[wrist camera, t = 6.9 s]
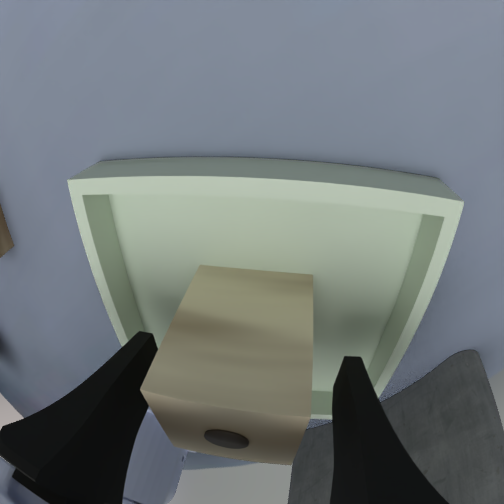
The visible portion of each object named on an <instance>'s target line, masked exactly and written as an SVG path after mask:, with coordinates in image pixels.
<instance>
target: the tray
mask: <svg viewBox="0 0 504 504" xmlns="http://www.w3.org/2000/svg"><path fill="white" fill-rule="evenodd" d="M67 181H68V186H69V191H70V195H71V199H72V204H73V208H74V212H75V216H76V219H77V223H78V227H79V230H80V234H81V237H82V241H83V244H84V247H85V251H86V254H87V257H88V260H89V263H90V266H91V269H92V272H93V275H94V278H95V281H96V284H97V287H98V289H99V292H100V295H101V297H102V300H103V303H104V305H105V308H106V310H107V313H108V315H109V318H110V320H111V323H112V325H113V327H114V330H115V332H116V334H117V337H118V339H119V341H120V343H121V346H122V347H123V346H124V345H125V344H126V343H127V342H128V341H129V340H130V339H131V338H132V337H133V336H134V335H135V334H136V333H137V332H139V331H143V332H148V333H153V335H154V338H155V341H156V344H157V347H158V349H159V347H160V345H161V343H162V340H163V338H164V336H165V334H166V332H167V330H168V328H169V326H170V324H171V322H172V320H173V318H174V316H175V313H176V311H177V309H178V307H179V305H180V303H181V301H182V299H183V297H184V295H185V293H186V291H187V289H188V287H189V285H190V283H191V281H192V279H193V277H194V275H195V273H196V271H197V269H198V267H199V265H208V266H218V267H229V268H240V269H251V270H263V271H275V272H287V273H299V274H311V275H313V371H312V399H311V417H310V419H332V397H333V385H334V382H335V380H336V377H337V374H338V372H339V369H340V366H341V364H342V361H343V358H344V356H359V357H361V358H362V359H363V362H364V365H365V368H366V370H367V373H368V375H369V378H370V380H371V383H372V385H373V387H374V390H375V392H376V394H377V397H378V398H379V397H380V395H381V393H382V392H383V390H384V389H385V387H386V385H387V384H388V382H389V380H390V379H391V377H392V375H393V373H394V372H395V370H396V368H397V366H398V365H399V363H400V361H401V359H402V357H403V355H404V354H405V352H406V350H407V348H408V346H409V344H410V342H411V340H412V338H413V336H414V334H415V332H416V330H417V328H418V326H419V324H420V322H421V320H422V318H423V315H424V313H425V311H426V309H427V307H428V304H429V302H430V300H431V297H432V295H433V293H434V290H435V288H436V285H437V283H438V280H439V278H440V275H441V273H442V270H443V267H444V265H445V262H446V259H447V256H448V254H449V251H450V248H451V245H452V242H453V239H454V236H455V233H456V229H457V226H458V223H459V219H460V216H461V212H462V209H463V205H464V201H463V200H462V199H461V198H460V197H459V196H458V195H456V194H455V193H454V192H453V191H452V190H451V189H450V188H449V187H448V186H446V185H445V184H444V183H443V182H442V181H441V180H440V179H438V178H434V177H429V176H423V175H417V174H411V173H405V172H399V171H392V170H385V169H378V168H370V167H362V166H354V165H345V164H336V163H325V162H314V161H301V160H286V159H268V158H241V157H169V158H143V159H125V160H111V161H100V162H98V163H96V164H94V165H92V166H91V167H89V168H87V169H85V170H83V171H82V172H80V173H78V174H76V175H75V176H73V177H71V178H70V179H68V180H67Z"/></svg>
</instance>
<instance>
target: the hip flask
mask: <svg viewBox="0 0 504 504" xmlns="http://www.w3.org/2000/svg"><path fill="white" fill-rule="evenodd" d="M380 403H381V405H382V407H383V409H384V412H385V414H386V416H387V418H388V420H389V421H390V423H391V425H392V427H393V429H394V431H395V433H396V434H397V436H398V438H399V440H400V441H401V443H402V444H403V446H404V448H405V449H406V451H407V452H408V454H409V455H410V457H411V458H412V460H413V461H414V463H415V464H416V465H417V467H418V468H419V469H420V471H421V472H422V473H423V475H424V476H425V477H426V478H427V480H428V481H429V482H430V483H431V484H432V486H433V487H434V488H435V489H436V490H437V491H438V492H439V494H440V495H441V496H442V497H443V498H444V499H445V500H446V501H447V502H448V503H449V504H504V431H503V427H502V423H501V419H500V416H499V412H498V409H497V406H496V402H495V399H494V396H493V393H492V390H491V387H490V384H489V381H488V378H487V375H486V372H485V370H484V367H483V364H482V362H481V359H480V356H479V354H478V352H476V351H474V350H465V351H461V352H459V353H456V354H454V355H452V356H451V357H449V358H448V359H446V360H445V361H444V362H442V363H441V364H440V365H439V366H437V367H436V368H435V369H434V370H432V371H431V372H430V373H428V374H427V375H426V376H424V377H423V378H421V379H420V380H418V381H417V382H415V383H414V384H412V385H411V386H409V387H407V388H406V389H404V390H402V391H401V392H399V393H397V394H396V395H394V396H392V397H390V398H388V399H386V400H384V401H382V402H380ZM333 470H334V449H333V425H332V423H329V424H326V425H322V426H319V427H315V428H311V429H307V430H305V433H304V436H303V438H302V441H301V443H300V446H299V448H298V450H297V453H296V455H295V458H294V460H293V465H292V473H291V482H290V490H289V498H288V504H330V497H331V489H332V480H333Z"/></svg>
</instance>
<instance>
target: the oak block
mask: <svg viewBox="0 0 504 504" xmlns="http://www.w3.org/2000/svg"><path fill="white" fill-rule="evenodd" d="M13 246H14V244H13V241H12V238H11V235H10V233H9V230H8V227H7V224H6V221H5V218H4V214H3V211H2V208H1V205H0V258H1V257H2V256H3V255H4V254H5V253H6V252H8V251H9V250H10V249H11V248H12V247H13Z"/></svg>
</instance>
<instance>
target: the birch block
mask: <svg viewBox="0 0 504 504" xmlns="http://www.w3.org/2000/svg"><path fill="white" fill-rule="evenodd" d="M312 371H313V275H311V274H299V273H287V272H275V271H263V270H251V269H240V268H229V267H218V266H208V265H199V267H198V269H197V271H196V273H195V275H194V277H193V279H192V281H191V283H190V285H189V287H188V289H187V291H186V293H185V295H184V297H183V299H182V301H181V303H180V305H179V307H178V309H177V311H176V313H175V316H174V318H173V320H172V322H171V324H170V326H169V328H168V330H167V332H166V334H165V336H164V338H163V340H162V343H161V345H160V347H159V349H158V351H157V353H156V355H155V358H154V360H153V362H152V364H151V366H150V368H149V370H148V373H147V375H146V377H145V379H144V381H143V384H142V386H141V388H140V391H141V392H142V394H143V396H144V398H145V400H146V401H147V403H148V405H149V407H150V408H151V410H152V412H153V414H154V415H155V417H156V419H157V420H158V422H159V424H160V425H161V427H162V429H163V430H164V432H165V433H166V435H167V436H168V438H169V440H170V441H171V443H172V444H173V446H174V447H178V448H182V449H186V450H190V451H195V452H199V453H204V454H209V455H214V456H220V457H225V458H231V459H238V460H245V461H252V462H260V463H270V464H281V465H292V462H293V460H294V458H295V455H296V453H297V450H298V448H299V446H300V443H301V441H302V438H303V436H304V433H305V430H306V428H307V425H308V423H309V420H310V417H311V399H312Z"/></svg>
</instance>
